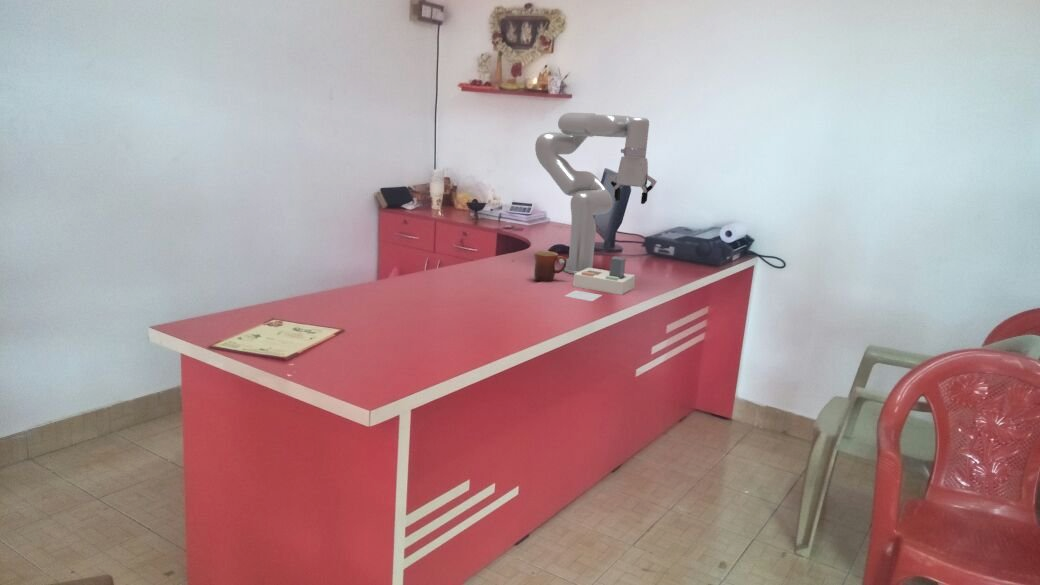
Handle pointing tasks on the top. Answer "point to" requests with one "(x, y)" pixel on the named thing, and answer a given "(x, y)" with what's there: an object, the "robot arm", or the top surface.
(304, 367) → the top surface
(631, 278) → the socket block
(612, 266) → the dark grey rectangular prism
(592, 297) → the mat
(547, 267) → the mug
